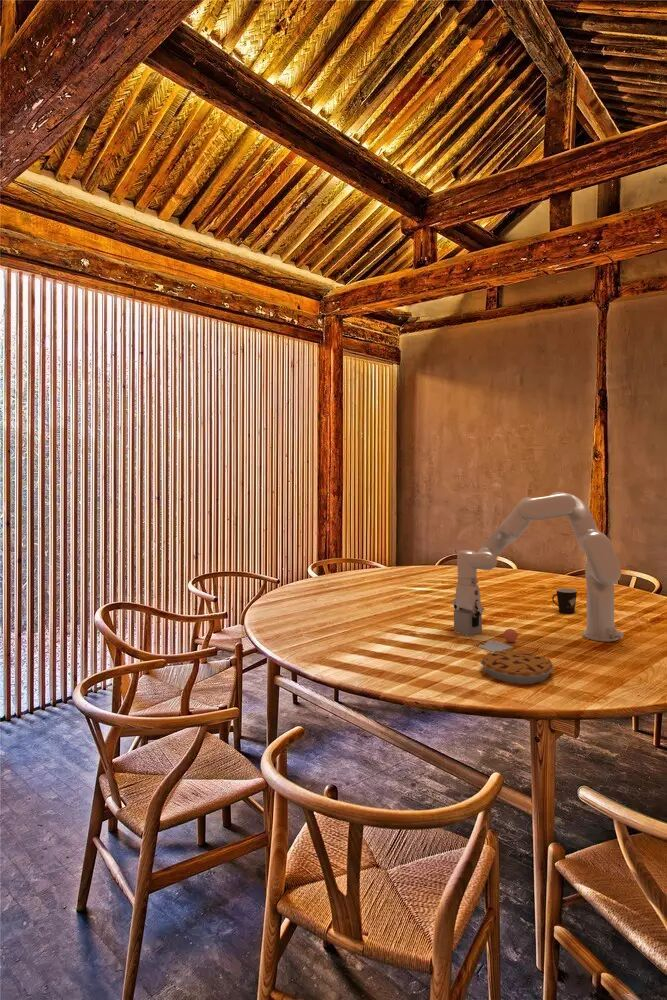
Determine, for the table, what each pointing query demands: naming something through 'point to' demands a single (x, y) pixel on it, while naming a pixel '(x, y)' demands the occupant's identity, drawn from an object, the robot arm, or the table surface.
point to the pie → (517, 666)
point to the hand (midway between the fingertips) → (467, 624)
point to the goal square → (495, 646)
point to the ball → (510, 635)
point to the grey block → (466, 622)
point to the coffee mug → (566, 600)
